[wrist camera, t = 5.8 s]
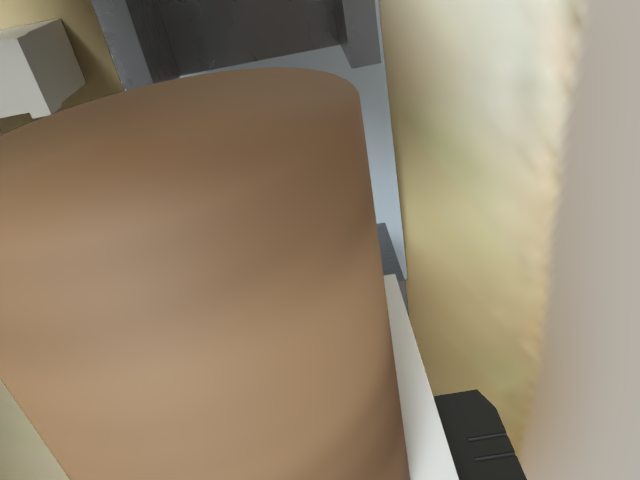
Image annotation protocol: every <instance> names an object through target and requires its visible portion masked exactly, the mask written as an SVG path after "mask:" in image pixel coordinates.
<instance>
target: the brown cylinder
mask: <svg viewBox="0 0 640 480" xmlns="http://www.w3.org/2000/svg"><path fill="white" fill-rule="evenodd" d="M0 379H1V380H2V382H3V383H4V385H5V386H6V387H7V389H8V390H9V392H10V393H11V395H12V396H13V398H14V399H15V401H16V402H17V403H18V405H19V406H20V408H21V409H22V411H23V412H24V414H25V415H26V416H27V418H28V419H29V421H30V422H31V424H32V425H33V427H34V428H35V430H36V431H37V432H38V434H39V435H40V437H41V438H42V440H43V441H44V443H45V444H46V446H47V447H48V448H49V450H50V451H51V453H52V454H53V456H54V457H55V459H56V460H57V462H58V463H59V464H60V466H61V467H62V469H63V470H64V472H65V473H66V475H67V476H68V478H69V479H70V480H410V473H409V465H408V457H407V450H406V442H405V435H404V427H403V420H402V412H401V404H400V397H399V389H398V382H397V374H396V367H395V359H394V351H393V344H392V336H391V329H390V321H389V314H388V306H387V298H386V291H385V283H384V276H383V268H382V261H381V253H380V245H379V238H378V230H377V223H376V215H375V208H374V200H373V192H372V185H371V177H370V170H369V162H368V154H367V147H366V139H365V132H364V124H363V117H362V109H361V101H360V96H359V92H358V90H357V89H356V88H355V86H354V85H353V84H352V83H350V82H349V81H348V80H346V79H344V78H342V77H340V76H337V75H335V74H331V73H328V72H324V71H318V70H312V69H303V68H281V67H274V68H252V69H239V70H230V71H221V72H214V73H207V74H201V75H195V76H189V77H184V78H179V79H174V80H169V81H164V82H159V83H155V84H151V85H146V86H142V87H138V88H134V89H130V90H127V91H123V92H119V93H116V94H112V95H109V96H105V97H102V98H98V99H95V100H92V101H89V102H86V103H83V104H79V105H76V106H73V107H71V108H68V109H65V110H62V111H59V112H56V113H54V114H51V115H48V116H46V117H43V118H40V119H38V120H35V121H33V122H30V123H28V124H26V125H23V126H21V127H18V128H16V129H14V130H11V131H9V132H7V133H5V134H3V135H1V136H0Z"/></svg>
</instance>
